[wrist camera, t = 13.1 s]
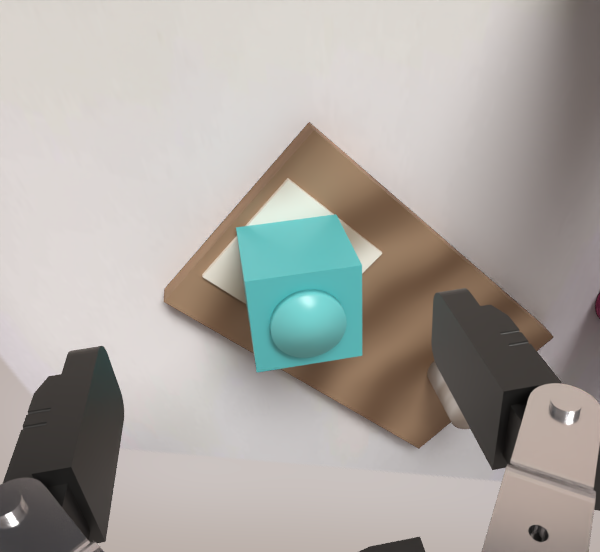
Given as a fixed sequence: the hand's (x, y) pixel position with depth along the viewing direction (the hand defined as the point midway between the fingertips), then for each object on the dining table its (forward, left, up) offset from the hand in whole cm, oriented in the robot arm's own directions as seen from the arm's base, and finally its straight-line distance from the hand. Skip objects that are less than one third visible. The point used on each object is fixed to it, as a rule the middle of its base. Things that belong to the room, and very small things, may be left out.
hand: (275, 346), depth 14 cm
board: (-7, +16, -21) cm, 27 cm away
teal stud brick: (-2, +10, -19) cm, 22 cm away
